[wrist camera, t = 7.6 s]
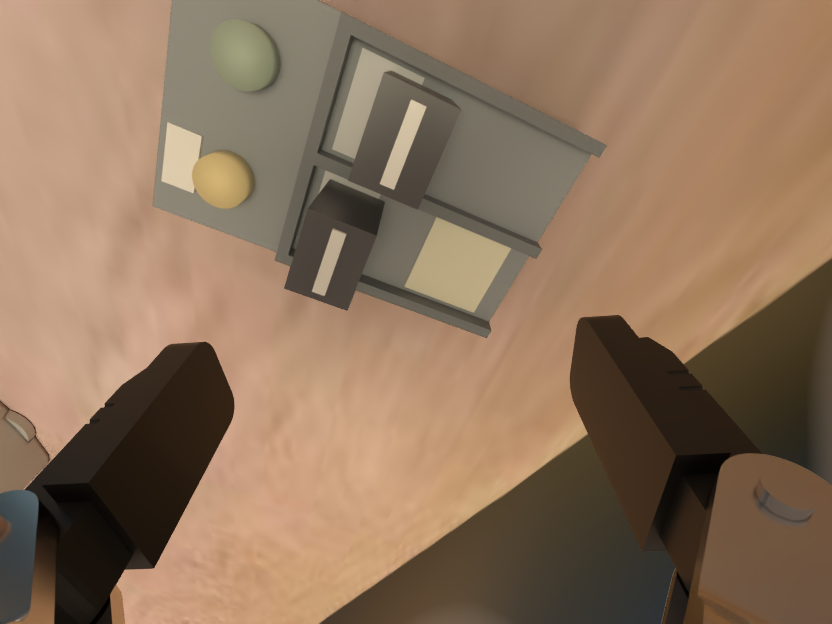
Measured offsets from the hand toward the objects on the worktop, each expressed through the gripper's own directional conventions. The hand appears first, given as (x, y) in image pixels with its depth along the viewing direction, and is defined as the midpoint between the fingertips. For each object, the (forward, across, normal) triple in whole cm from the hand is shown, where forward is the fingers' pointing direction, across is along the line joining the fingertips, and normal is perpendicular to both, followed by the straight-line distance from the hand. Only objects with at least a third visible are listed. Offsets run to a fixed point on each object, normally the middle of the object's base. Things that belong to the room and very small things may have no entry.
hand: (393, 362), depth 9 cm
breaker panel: (+17, +2, -1) cm, 18 cm away
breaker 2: (+14, 0, -3) cm, 15 cm away
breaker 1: (+14, +4, +1) cm, 15 cm away
